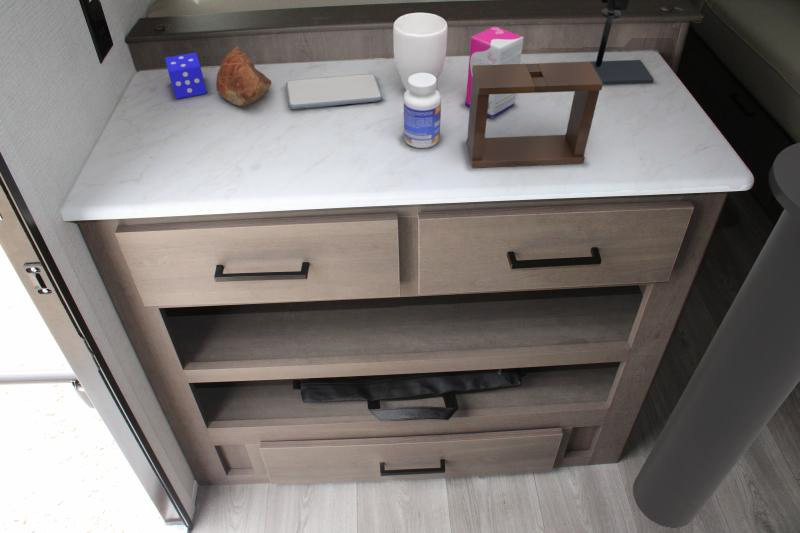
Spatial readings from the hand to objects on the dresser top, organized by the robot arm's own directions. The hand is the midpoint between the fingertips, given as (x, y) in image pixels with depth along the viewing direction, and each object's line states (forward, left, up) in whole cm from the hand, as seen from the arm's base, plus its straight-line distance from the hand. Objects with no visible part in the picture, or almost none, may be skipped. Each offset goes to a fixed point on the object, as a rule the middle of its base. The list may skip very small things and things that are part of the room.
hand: (613, 4), depth 100 cm
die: (+54, +42, -12) cm, 70 cm away
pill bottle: (+14, +33, -12) cm, 38 cm away
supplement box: (+10, +19, -12) cm, 25 cm away
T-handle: (0, 0, -11) cm, 11 cm away
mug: (+23, +20, -12) cm, 33 cm away
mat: (0, 0, -12) cm, 12 cm away
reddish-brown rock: (+45, +38, -12) cm, 61 cm away
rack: (0, +28, -12) cm, 31 cm away
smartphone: (+33, +30, -12) cm, 47 cm away
